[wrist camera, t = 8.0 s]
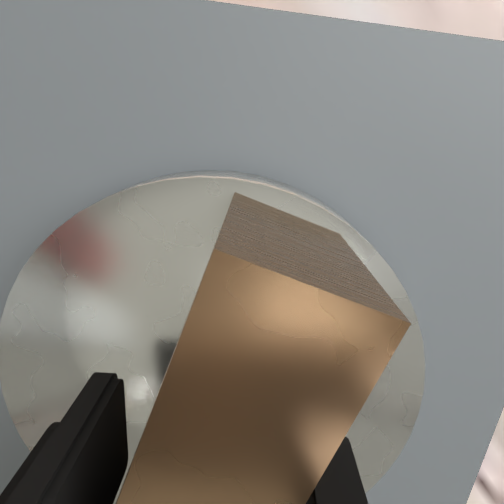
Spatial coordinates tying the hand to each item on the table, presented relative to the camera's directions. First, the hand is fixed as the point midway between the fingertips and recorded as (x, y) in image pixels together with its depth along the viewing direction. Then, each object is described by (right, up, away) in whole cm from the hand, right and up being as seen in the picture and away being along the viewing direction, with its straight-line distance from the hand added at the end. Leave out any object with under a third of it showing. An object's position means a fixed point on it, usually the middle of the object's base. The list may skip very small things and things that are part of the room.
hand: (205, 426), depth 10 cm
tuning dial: (-1, -1, +4) cm, 4 cm away
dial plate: (0, +2, +5) cm, 5 cm away
